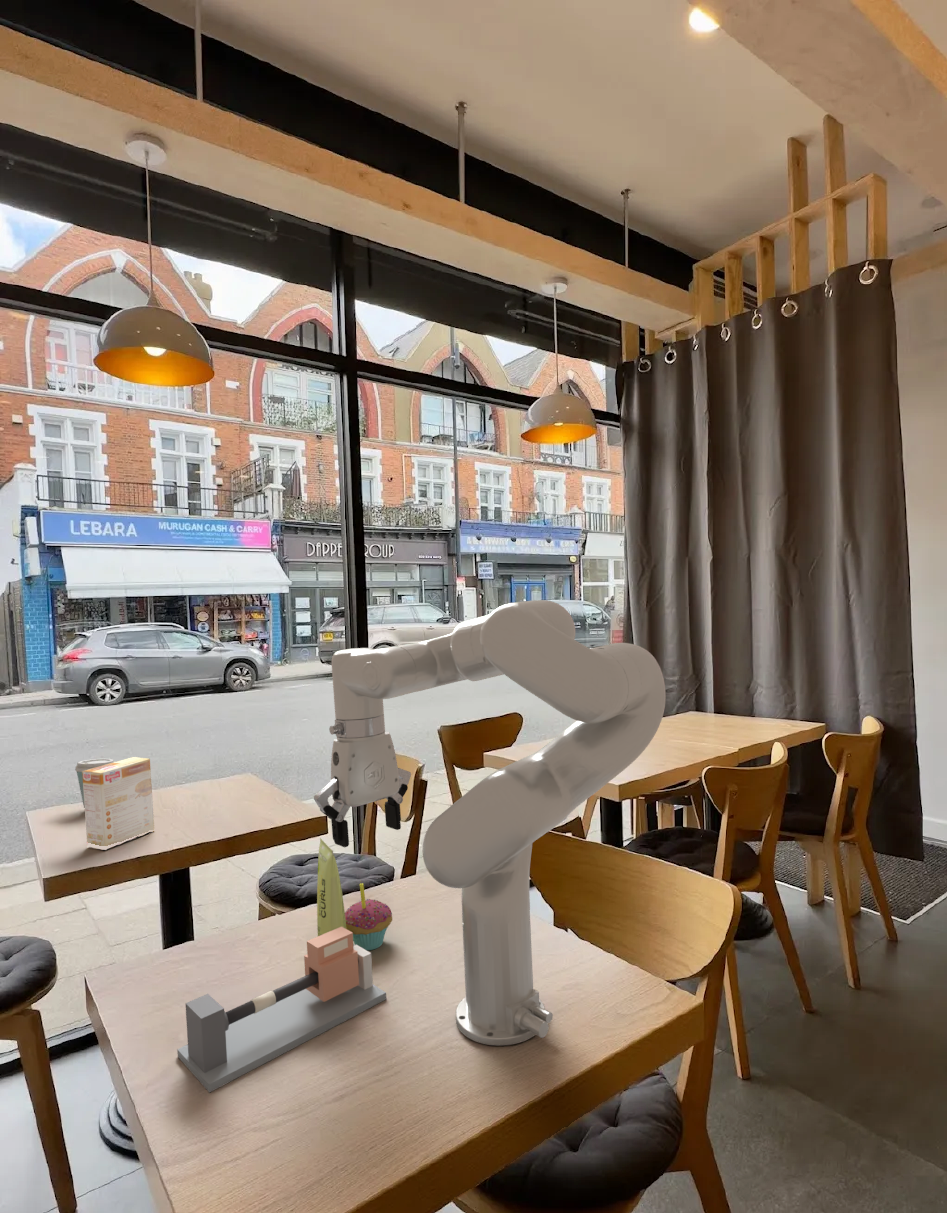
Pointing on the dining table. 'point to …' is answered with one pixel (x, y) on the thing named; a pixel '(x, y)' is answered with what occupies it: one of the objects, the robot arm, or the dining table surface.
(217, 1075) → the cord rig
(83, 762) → the disposable coffee cup
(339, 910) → the tube
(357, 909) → the cupcake
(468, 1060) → the dining table surface
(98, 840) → the coffeecake box
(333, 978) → the sleeve
